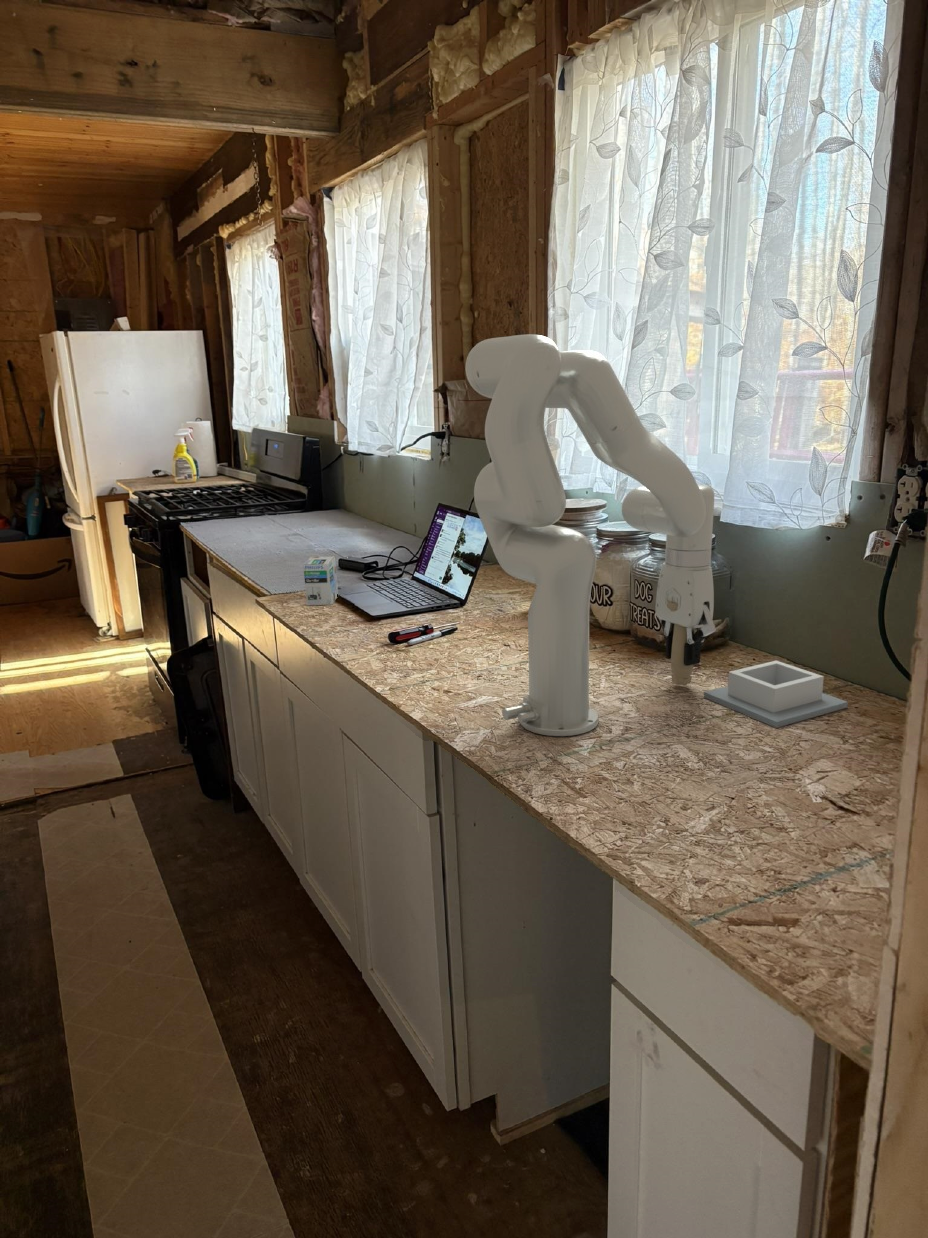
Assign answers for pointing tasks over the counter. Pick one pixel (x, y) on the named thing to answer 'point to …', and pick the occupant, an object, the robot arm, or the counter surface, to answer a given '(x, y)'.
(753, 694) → the socket plate
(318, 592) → the light bulb box
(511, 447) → the robot arm
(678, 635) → the handle
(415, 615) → the counter surface
